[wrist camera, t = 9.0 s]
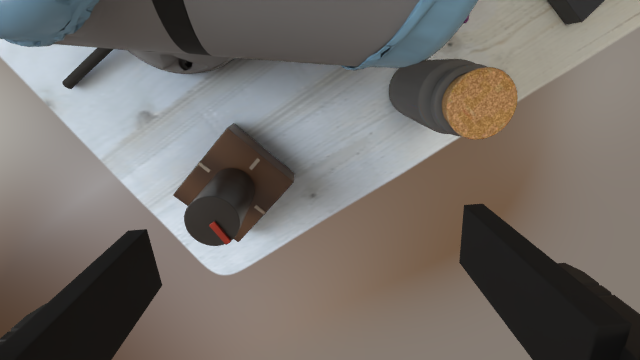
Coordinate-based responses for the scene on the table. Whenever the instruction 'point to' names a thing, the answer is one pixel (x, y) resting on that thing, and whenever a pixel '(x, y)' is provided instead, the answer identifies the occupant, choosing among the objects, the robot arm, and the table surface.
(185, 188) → the dial panel
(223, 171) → the dial
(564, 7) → the switch base
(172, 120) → the table surface
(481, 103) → the bottle
